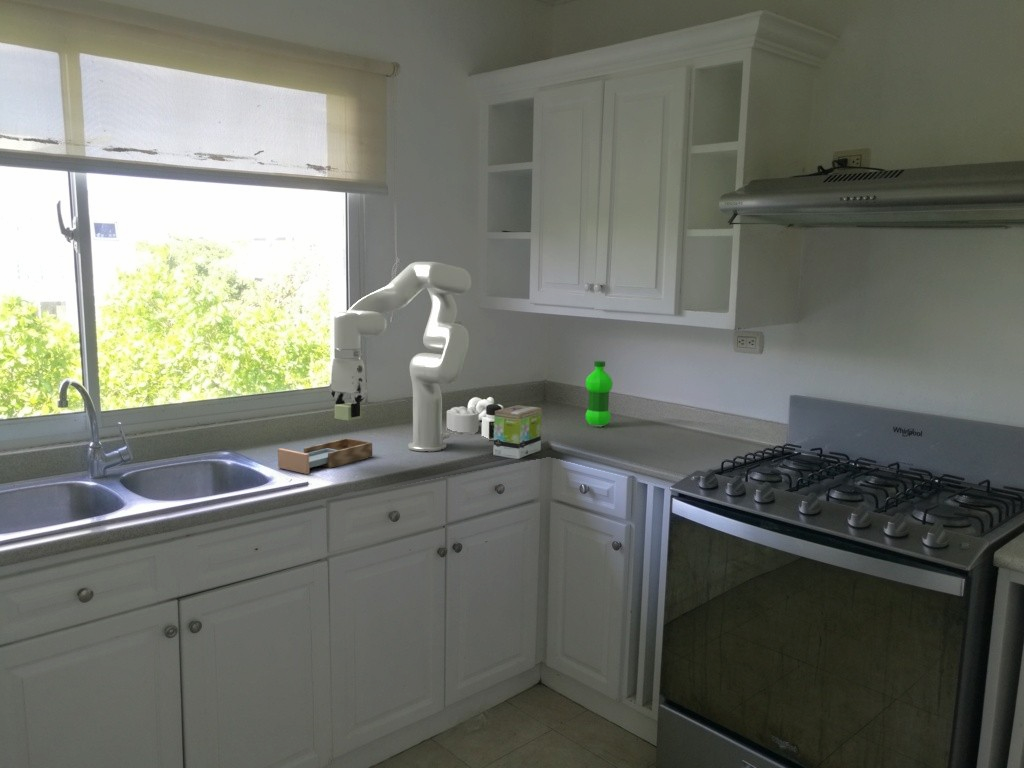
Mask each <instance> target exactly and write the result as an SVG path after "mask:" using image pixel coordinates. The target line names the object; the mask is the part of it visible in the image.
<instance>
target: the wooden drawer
mask: <svg viewBox="0 0 1024 768" xmlns="http://www.w3.org/2000/svg"><path fill="white" fill-rule="evenodd" d="M333 451H338V450H335V449H329V448H325V449H321V450H317V451H313V452H309V453H304V452H300V451H297V450H296V451H295V450H291V449H287V448H282V447H280V448H277V465H278V466H277V467H278V468H279V469H283V470H288V471H292V472H297V473H301V474H305V475H306V474H307V475H308V474H310V469H311V468H313V467H318V466H319V465H323V464H326V463H328V453H329V452H333ZM319 467H320V466H319Z"/></svg>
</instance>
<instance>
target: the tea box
mask: <svg viewBox="0 0 1024 768" xmlns="http://www.w3.org/2000/svg"><path fill="white" fill-rule="evenodd" d="M542 418H543V408H542V407H537V406H536V407H535V406H528V405H520V404H517V405H512V406H508V407H503V409H500V410H497V411H495V419H494V440H493V447H492V449H493V456H497V457H501V458H502V457H503V458H509V459H516V460H519V459H522V458H523V457H526V456H529V455H531V454H535V453H537V452H540V451H541V449H542V445H541V444H542V425H543V424H542V423H543V422H542V420H543V419H542Z"/></svg>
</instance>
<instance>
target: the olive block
mask: <svg viewBox="0 0 1024 768" xmlns="http://www.w3.org/2000/svg"><path fill="white" fill-rule="evenodd" d="M351 404H353V402H345V403H344V404H338V405H336V404H334V408H333V410H334V414H333V415H334V419H337V420H343V421H352V420H357V419H361V418H362V404H360V416H358V417H351Z"/></svg>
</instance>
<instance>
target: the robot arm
mask: <svg viewBox="0 0 1024 768" xmlns="http://www.w3.org/2000/svg"><path fill="white" fill-rule="evenodd" d="M471 278H472V277H471V275H470V272H468V271H467V270H466V269H465V268H462V267H460V266H455V265H449V264H445V263H442V262H437V261H436V262H435V261H415V262H411V263H410V264H408V265H407V266H406V267H405V268H404V269H403V270H402V271H400V273H398V275H397V276H396V277H394V278H393V279H392V280H391V281H390V282H389V283H388V284H386V285H385V286H383V287H381V288H379V289H377V290H375V291H373V292H371V293H369V294H367V295H366V296H363V297H362V298H361V299H359V300H357V301H356V302H355V303H354V304H353V305H352V306H351V307H350V308H349V309H348V310H347V311H339V312H336V313H335V315H334V319H333V327H334V329H333V331H334V332H333V333H334V335H333V336H334V337H333V341H334V344H333V345H334V346H333V347H334V352H333V354H334V355H333V356H334V358H333V360H332V365H331V374H330V376H331V379H330V384H329V385H328V387H327V390H328V391H329V392H330V393H331V396H332V397H333V401H334V402H335V405H338V404H344V403H346V402H345V400H344V397H345V394H349V395H350V396H351V397H350V399H351V403H353V404H351V417H358V416H360V405H361V403H362V402H363V400H364V399H365V398H366V396H367V395H368V394H369V391H368V390H367V387H366V386H367V384H366V383H367V381H366V371H365V365H364V360H363V359H361V357H362V356H363V352H362V351H361V337H363V336H364V337H369V338H370V337H373V338H375V337H379V336H381V335H383V334H384V332H385V331H386V330H387V326H388V325H387V319H386V317H385V316H384V315H383V314H385V313H390V312H394V311H397V310H400V309H403V308H405V307H406V306H407V305H408V304H410V302H412V300H414V298H416V296H417V295H418V294H420V292H422V291H423V290H425V289H427V292H428V293H429V296H430V297H429V298H430V300H431V309H430V314H429V317H428V320H427V323H426V327H425V330H424V333H423V338H422V339H423V340H422V342H423V346H424V347H425V348H426V349H428V350H430V351H435V352H442V354H440V353H432V352H420V353H416V355H414V356H413V357H412V358H411V359H410V362H409V375H410V379H411V384H412V441H411V442H409V443H408V444H407V446H408V449H409V450H411V451H415V452H425V451H428V452H437V450H439V451H442V450H441V449H443V450H445V449H446V448H447V443H446V442H444V440H445V439H448V438H450V432H449V431H447V432H443V427H442V425H443V419H442V418H443V415H442V414H443V405H442V404H443V395H442V390H441V388H440V387H441V386H440V385H452V384H454V383H455V382H456V381H457V380H458V378H459V377H460V374H461V371H462V367H463V365H464V361H465V358H466V355H467V352H468V348H469V343H470V339H469V338H470V337H469V332H468V329H467V328H466V327H465V326H464V325H462V324H459V323H455V322H456V317H457V314H458V308H457V307H458V306H457V304H456V300H455V299H454V297H453V295H457V296H459V295H460V296H461V295H464V294H466V293H467V292H468V291H469V290H470V288H471V286H472V279H471ZM444 448H445V449H444Z"/></svg>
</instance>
